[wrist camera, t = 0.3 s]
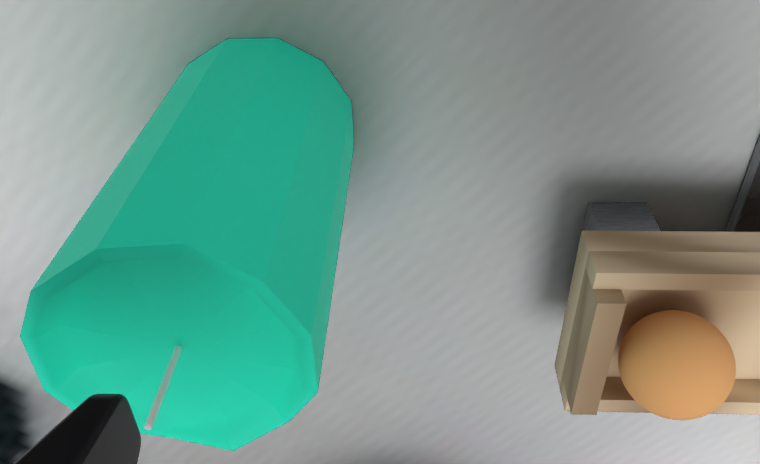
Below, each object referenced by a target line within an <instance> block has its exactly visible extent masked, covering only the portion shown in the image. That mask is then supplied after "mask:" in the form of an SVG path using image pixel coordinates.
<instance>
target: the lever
mask: <svg viewBox="0 0 760 464" xmlns="http://www.w3.org/2000/svg"><path fill="white" fill-rule="evenodd" d="M666 310H678V311H686V312H689V313H693V314H696V315H698V316H700V317H702V318H704V319H706V320H707V321H709V322H710V323H712V324H713V325H714V326H715V327H717V328H718V329H719V330H720V331H721V333H722V334H723V335H724V336H725V338H726V339H727V341H728V342H729V344H730V346H731V348H732V351H733V354H734V357H735V362H736V375H735V382H734V385H733V387H732V390H731V392H730V394H729V396H728V397H727V398H726V400H725V401H724V402H723V403H722V404H721V405H720V406H719V407H718V408H717V409H715V410H714V411H712V412H711V413H709V414H747V415H760V232H704V231H582V232H581V237H580V242H579V247H578V252H577V257H576V262H575V267H574V271H573V276H572V281H571V286H570V291H569V296H568V301H567V306H566V311H565V316H564V321H563V326H562V331H561V336H560V341H559V346H558V351H557V356H556V361H555V370H556V374H557V378H558V383H559V387H560V392H561V396H562V400H563V405H564V409H565V411H570V412H571V414H592V415H596V414H597V412H644V413H651V412H650V411H648V410H646V409H645V408H643V407H642V406H641V405H640V404H638V403H637V402H636V401H635V400H634V399H633V398H632V396H631V395H630V394H629V393H628V391H627V389H626V388H625V386H624V384H623V382H622V379H621V377H620V372H619V368H618V355H619V349H620V346H621V343H622V340H623V338H624V336H625V335H626V333H627V332H628V330H629V329H630V328H631V327H632V326H633V325H634V324H635V323H636V322H638V321H639V320H640V319H642V318H643V317H645V316H647V315H650V314H652V313H656V312H660V311H666Z"/></svg>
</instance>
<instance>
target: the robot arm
mask: <svg viewBox="0 0 760 464" xmlns="http://www.w3.org/2000/svg"><path fill="white" fill-rule="evenodd" d="M140 446H141V436H140V431H139V428H138V426H137V423H136V420H135V418H134V415H133V412H132V410H131V407H130V404H129V402H128V400H127V398H126V397H125V396H124V395H122V394H94V395H92V396H90V397H88V398H87V399H86V400H85V401H83V402H82V403H81V404H80V405H79V406H78V407H77V408H76V409H75V410H73V411H72V412H71V413H70V414H69V415H68V416H67V417H66V418H64V419H63V420H62V421H61V422H60V423H59V424H58V425H57V426H55V427H54V428H53V429H52V430H51V431H50V432H49V433H48V434H47V435H45V436H44V437H43V438H42V439H41V440H40V441H39V442H38V443H36V444H35V445H34V446H33V447H32V448H31V449H30V450H29V451H27V452H26V453H25V454H24V455H23V456H22V457H21V458H20V459H19V460H17V461H16V462H15V463H14V464H137V461H138V457H139V452H140Z"/></svg>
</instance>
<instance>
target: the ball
mask: <svg viewBox="0 0 760 464" xmlns="http://www.w3.org/2000/svg"><path fill="white" fill-rule="evenodd" d="M618 368H619V372H620V377H621V379H622V382H623V384H624V386H625V388H626V389H627V391H628V393H629V394H630V395H631V396H632V398H633V399H634V400H635V401H636V402H637V403H638V404H640V405H641V406H642V407H643V408H645V409H646V410H648V411H650V412H651V413H653V414H656V415H658V416H661V417H664V418H668V419H674V420H690V419H695V418H699V417H702V416H705V415H707V414H709V413H711V412H712V411H714V410H715V409H717V408H718V407H719V406H720V405H721V404H722V403H723V402H724V401H725V400H726V398H727V397H728V396H729V394H730V392H731V390H732V387H733V385H734V382H735V375H736V362H735V357H734V354H733V351H732V348H731V346H730V344H729V342H728V341H727V339H726V338H725V336H724V335H723V334H722V333H721V331H720V330H719V329H718V328H717V327H715V326H714V325H713V324H712V323H710V322H709V321H707V320H706V319H704V318H702V317H700V316H698V315H696V314H693V313H689V312H686V311H678V310H666V311H660V312H656V313H652V314H650V315H647V316H645V317H643V318H642V319H640V320H639V321H638V322H636V323H635V324H634V325H633V326H632V327H631V328H630V329H629V330H628V332H627V333H626V335H625V336H624V338H623V340H622V343H621V346H620V349H619V355H618Z"/></svg>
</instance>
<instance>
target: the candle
mask: <svg viewBox="0 0 760 464" xmlns="http://www.w3.org/2000/svg"><path fill="white" fill-rule="evenodd" d="M353 149H354V134H353V118H352V102H351V100H350V99H349V97H348V96H347V95H346V93H345V92H344V90H343V89H342V87H341V86H340V84H339V83H338V82H337V80H336V79H335V77H334V76H333V74H332V73H331V71H330V70H329V68H328V67H327V66H326V64H325V63H324V62H323V61H321V60H319V59H317V58H315V57H313V56H312V55H310V54H308V53H306V52H304V51H302V50H300V49H298V48H296V47H294V46H292V45H290V44H288V43H286V42H284V41H283V40H281V39H279V38H245V39H226V40H224V41H223V42H221V43H220V44H218V45H217V46H215V47H214V48H212V49H210V50H209V51H207V52H206V53H204V54H203V55H201V56H200V57H198V58H197V59H195V60H194V61H192V62H191V63H189V64H188V65H187V67H186V68H185V70H184V71H183V72H182V74H181V75H180V77H179V78H178V80H177V81H176V83H175V84H174V85H173V87H172V88H171V90H170V91H169V93H168V94H167V96H166V97H165V98H164V100H163V101H162V103H161V104H160V106H159V107H158V109H157V110H156V111H155V113H154V114H153V116H152V117H151V119H150V120H149V121H148V123H147V124H146V126H145V127H144V129H143V130H142V132H141V133H140V134H139V136H138V137H137V139H136V140H135V142H134V143H133V145H132V146H131V147H130V149H129V150H128V152H127V153H126V155H125V156H124V158H123V159H122V160H121V162H120V163H119V165H118V166H117V168H116V169H115V171H114V172H113V173H112V175H111V176H110V178H109V179H108V181H107V182H106V183H105V185H104V186H103V188H102V189H101V191H100V192H99V194H98V195H97V196H96V198H95V199H94V201H93V202H92V204H91V205H90V207H89V208H88V209H87V211H86V212H85V214H84V215H83V217H82V218H81V220H80V221H79V222H78V224H77V225H76V227H75V228H74V230H73V231H72V232H71V234H70V235H69V237H68V238H67V240H66V241H65V243H64V244H63V245H62V247H61V248H60V250H59V251H58V253H57V254H56V256H55V257H54V258H53V260H52V261H51V263H50V264H49V266H48V267H47V269H46V270H45V271H44V273H43V274H42V276H41V277H40V279H39V280H38V282H37V283H36V284H35V286H34V287H33V289H32V290H31V293H30V297H29V301H28V305H27V309H26V313H25V317H24V321H23V326H22V330H21V334H20V338H21V340H22V342H23V344H24V347H25V349H26V351H27V353H28V355H29V358H30V360H31V362H32V364H33V366H34V369H35V371H36V373H37V375H38V378H39V380H40V382H41V384H42V386H43V389H44V391H46V392H47V393H49V394H50V395H52V396H53V397H55V398H56V399H57V400H59V401H60V402H62V403H63V404H65V405H66V406H68V407H69V408H71V409H72V410H75V409H76V408H77V407H78V406H79V405H80V404H81V403H82V402H83V401H85V400H86V399H87V398H88V397H90V396H92V395H94V394H122V395H124V396H125V397H126V398H127V400H128V402H129V404H130V407H131V410H132V412H133V415H134V418H135V420H136V423H137V426H138V428H139V431H140V434H148V435H155V436H162V437H170V438H175V439H180V440H184V441H189V442H194V443H199V444H203V445H208V446H213V447H218V448H222V449H227V450H232V451H234V450H236V449H238V448H240V447H242V446H244V445H246V444H247V443H249V442H251V441H253V440H255V439H257V438H259V437H261V436H262V435H264V434H266V433H268V432H270V431H272V430H274V429H275V428H277V427H279V426H281V425H283V424H285V423H287V422H289V421H290V420H291V419H292V418H293V417H294V416H295V415H296V414H297V413H298V412H299V411H300V410H301V409H302V408H303V407H304V406H305V405H306V404H307V403H308V402H309V401H310V400H311V399H312V398H313V397H314V396H315V395H316V394H317V393H318V387H319V380H320V373H321V366H322V360H323V353H324V346H325V339H326V332H327V326H328V319H329V312H330V305H331V299H332V292H333V285H334V278H335V271H336V265H337V258H338V251H339V244H340V237H341V231H342V224H343V217H344V210H345V203H346V197H347V190H348V183H349V176H350V169H351V163H352V156H353Z"/></svg>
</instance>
